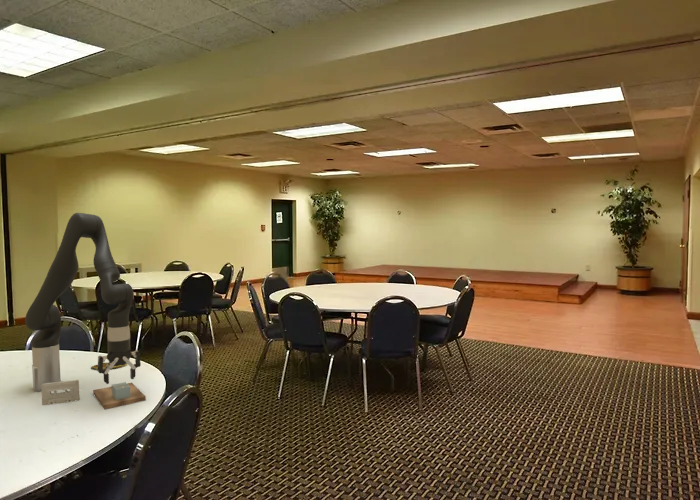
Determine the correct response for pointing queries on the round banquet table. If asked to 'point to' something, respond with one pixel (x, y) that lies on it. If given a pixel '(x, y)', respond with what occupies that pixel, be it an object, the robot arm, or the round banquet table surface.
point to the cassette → (60, 397)
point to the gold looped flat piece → (105, 366)
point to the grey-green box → (120, 391)
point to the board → (109, 401)
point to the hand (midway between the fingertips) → (119, 381)
